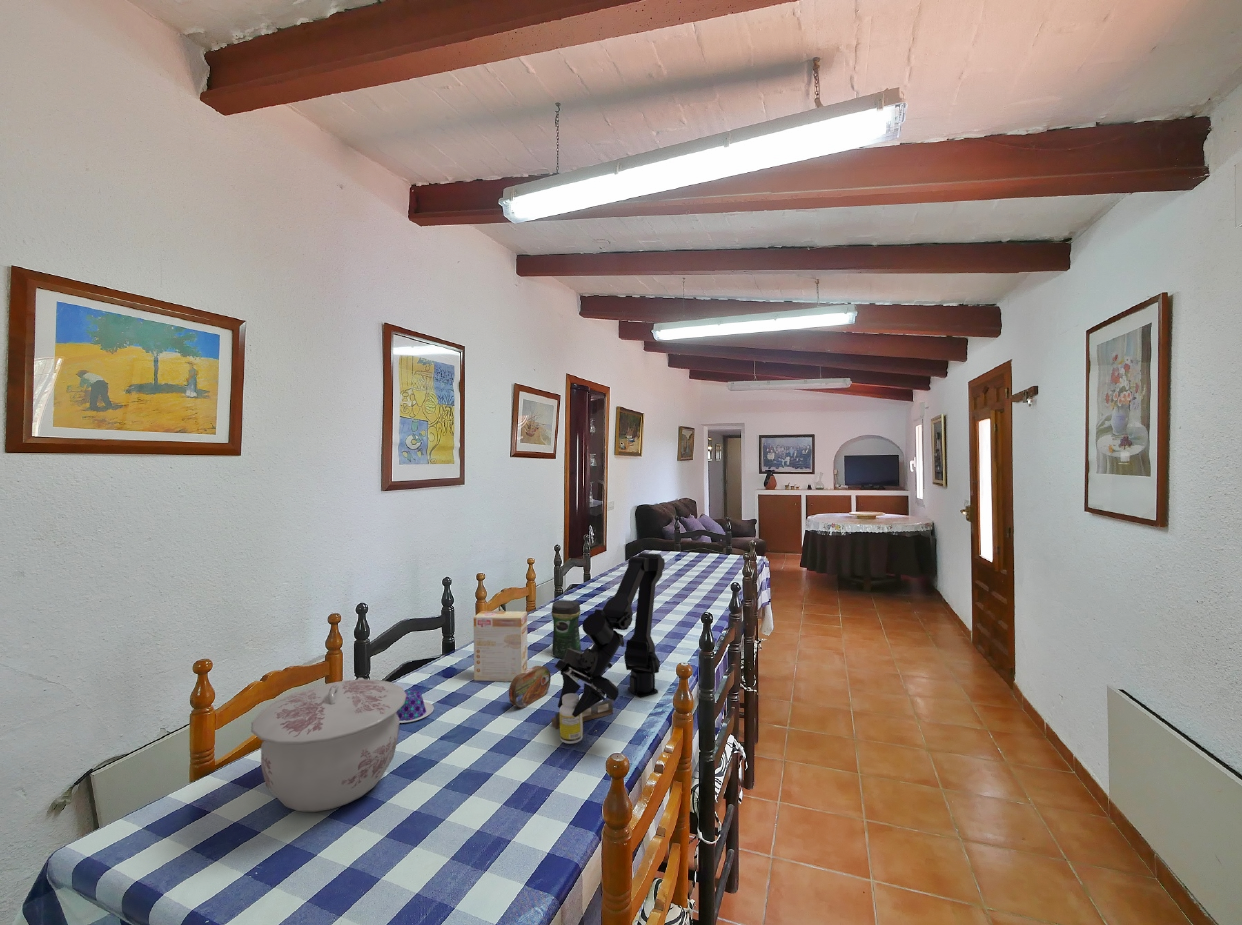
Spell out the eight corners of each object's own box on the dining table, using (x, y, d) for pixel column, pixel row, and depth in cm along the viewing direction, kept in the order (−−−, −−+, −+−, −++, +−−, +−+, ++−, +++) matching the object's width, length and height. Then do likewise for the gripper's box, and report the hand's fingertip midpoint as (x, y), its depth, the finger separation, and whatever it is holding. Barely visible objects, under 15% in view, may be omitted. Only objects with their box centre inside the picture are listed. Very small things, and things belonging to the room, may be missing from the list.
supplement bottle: (567, 730, 128) (566, 690, 128) (587, 735, 126) (586, 694, 126) (555, 741, 123) (554, 699, 123) (575, 746, 121) (575, 703, 121)
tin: (515, 713, 139) (515, 680, 139) (506, 710, 141) (506, 678, 141) (551, 691, 152) (551, 662, 152) (543, 689, 154) (543, 660, 154)
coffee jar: (583, 652, 184) (583, 598, 184) (575, 660, 176) (575, 604, 176) (558, 649, 187) (557, 597, 187) (548, 657, 179) (548, 602, 179)
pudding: (380, 712, 141) (379, 692, 141) (426, 700, 148) (426, 681, 148) (391, 730, 131) (390, 709, 131) (439, 716, 138) (439, 696, 138)
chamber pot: (298, 858, 88) (297, 734, 88) (223, 803, 103) (223, 696, 103) (437, 774, 112) (436, 676, 112) (360, 739, 126) (360, 652, 126)
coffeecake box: (528, 673, 166) (527, 610, 166) (521, 682, 159) (521, 617, 159) (481, 671, 167) (481, 609, 167) (473, 680, 160) (472, 616, 160)
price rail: (607, 708, 141) (607, 695, 141) (613, 713, 138) (613, 699, 138) (551, 723, 133) (551, 709, 133) (556, 729, 130) (556, 714, 130)
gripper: (560, 626, 134) (523, 682, 127) (608, 644, 120) (570, 709, 113) (585, 649, 139) (551, 704, 132) (634, 669, 125) (599, 732, 118)
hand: (566, 711), depth 124 cm, fingers closed on supplement bottle, 5 cm apart
